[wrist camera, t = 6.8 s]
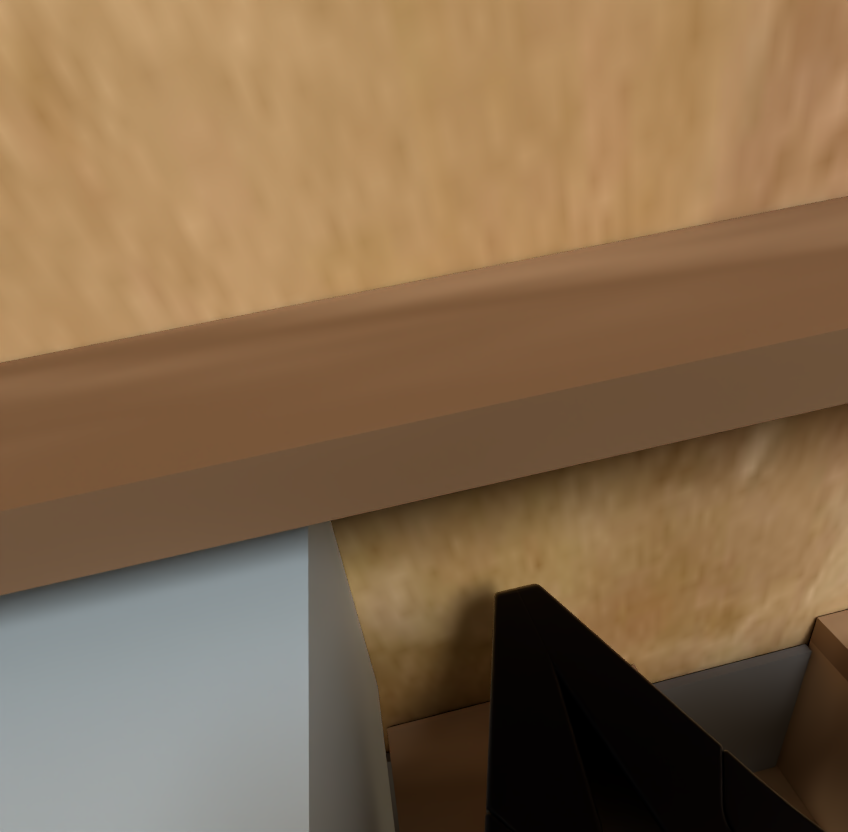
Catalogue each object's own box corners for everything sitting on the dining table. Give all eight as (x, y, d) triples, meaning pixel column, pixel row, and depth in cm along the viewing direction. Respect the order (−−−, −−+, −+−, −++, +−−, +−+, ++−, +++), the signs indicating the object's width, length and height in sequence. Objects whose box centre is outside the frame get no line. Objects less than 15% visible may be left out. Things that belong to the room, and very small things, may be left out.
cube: (377, 686, 12) (432, 1155, 7) (73, 761, 11) (-124, 1330, 6) (307, 440, 9) (308, 964, 4) (-117, 529, 8) (-831, 1282, 3)
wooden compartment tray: (1029, 702, 17) (1179, 831, 14) (-137, 1027, 15) (-249, 1266, 12) (1443, 79, 9) (2013, 75, 6) (-1078, 575, 6) (-2280, 1004, 3)
